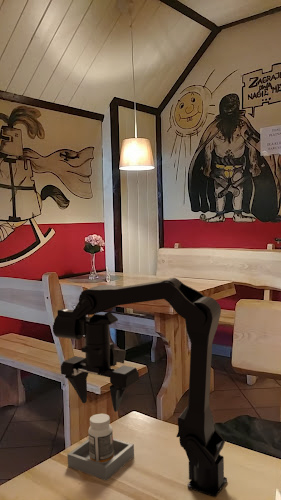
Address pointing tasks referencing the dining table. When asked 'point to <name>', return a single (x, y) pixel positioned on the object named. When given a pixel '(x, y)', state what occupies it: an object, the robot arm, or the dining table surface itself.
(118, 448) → the tray
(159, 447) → the dining table surface
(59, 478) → the dining table surface
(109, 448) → the pill bottle
